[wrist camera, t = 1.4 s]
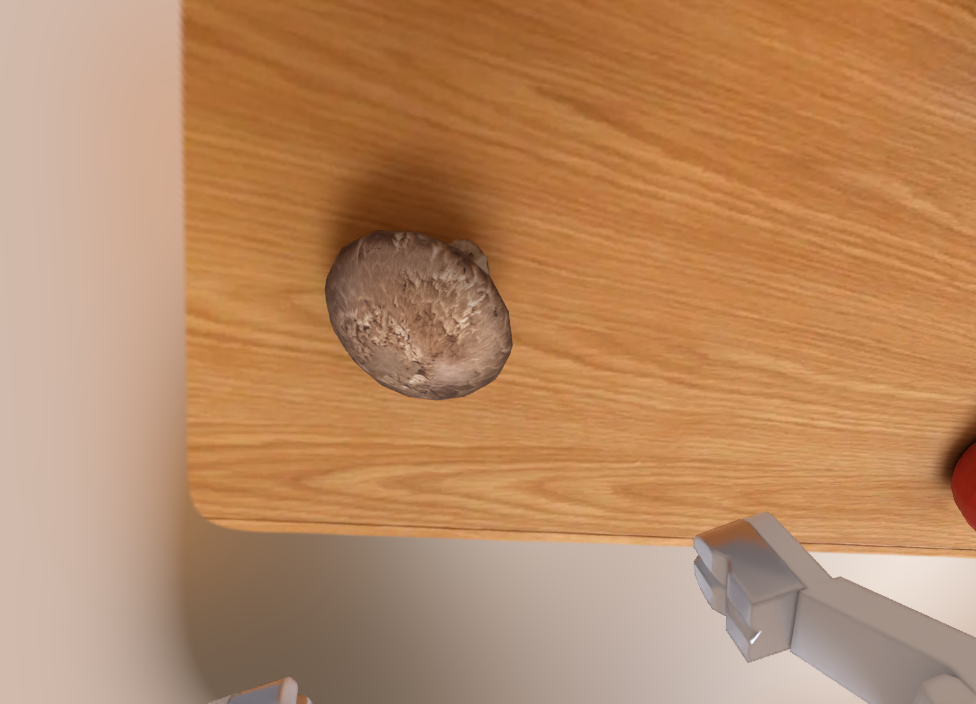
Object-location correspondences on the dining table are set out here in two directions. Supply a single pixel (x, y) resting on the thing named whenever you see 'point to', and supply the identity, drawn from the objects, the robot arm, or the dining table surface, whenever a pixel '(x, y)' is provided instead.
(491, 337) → the mushroom
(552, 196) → the dining table surface
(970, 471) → the fruit
